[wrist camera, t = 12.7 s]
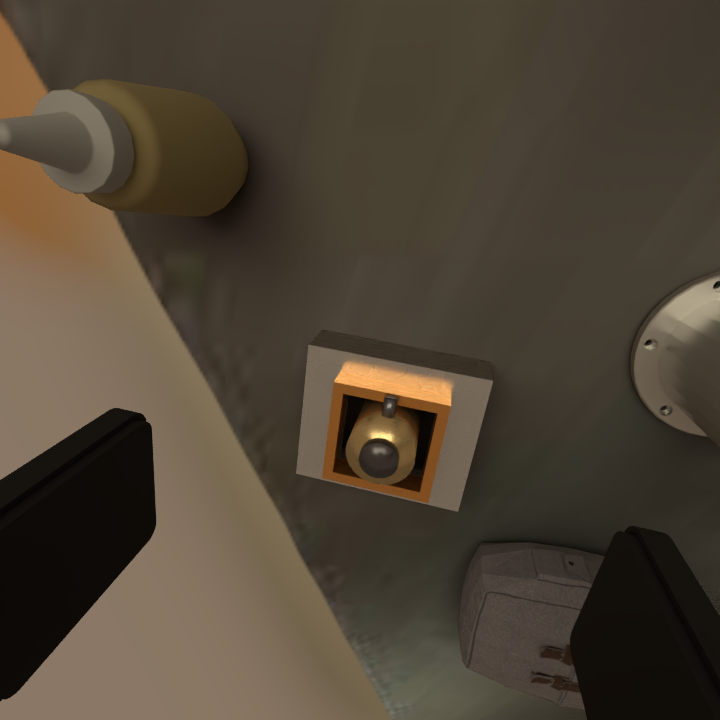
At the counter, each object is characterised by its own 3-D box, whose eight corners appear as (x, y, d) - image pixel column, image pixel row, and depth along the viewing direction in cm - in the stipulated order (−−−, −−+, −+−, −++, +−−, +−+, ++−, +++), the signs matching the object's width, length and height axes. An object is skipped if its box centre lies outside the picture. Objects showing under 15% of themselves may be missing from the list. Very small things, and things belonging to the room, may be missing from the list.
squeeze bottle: (258, 223, 36) (95, 253, 20) (166, 204, 37) (-65, 217, 21) (268, 110, 33) (84, 33, 17) (167, 92, 34) (-103, 2, 18)
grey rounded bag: (449, 626, 48) (654, 672, 45) (448, 710, 40) (695, 773, 37) (473, 510, 42) (709, 554, 39) (477, 582, 34) (772, 644, 31)
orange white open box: (489, 361, 37) (495, 392, 31) (457, 482, 41) (458, 528, 36) (322, 329, 38) (300, 353, 33) (309, 449, 43) (288, 487, 37)
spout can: (416, 436, 40) (407, 498, 32) (362, 424, 41) (339, 482, 33) (430, 370, 38) (424, 420, 30) (372, 359, 38) (350, 404, 30)
